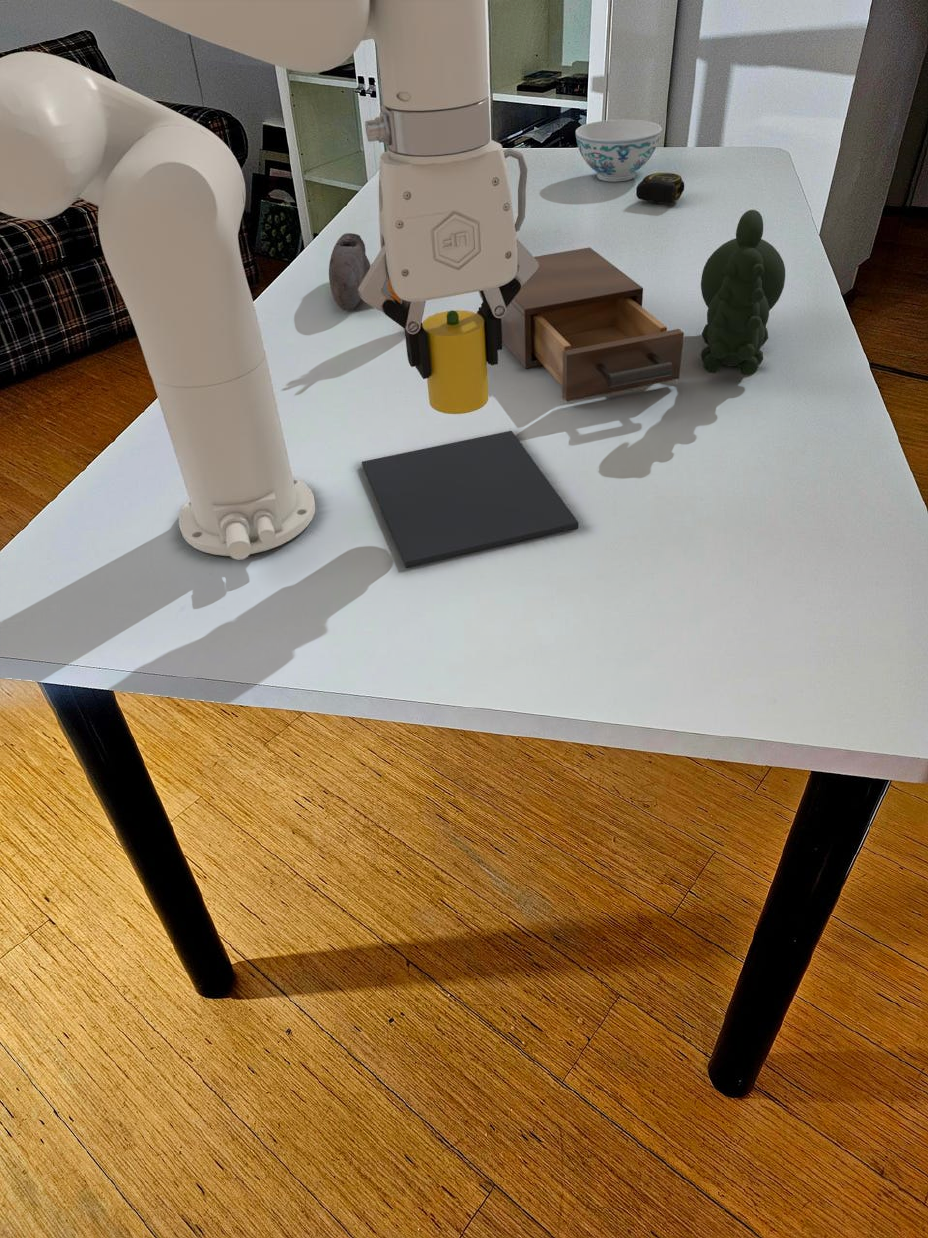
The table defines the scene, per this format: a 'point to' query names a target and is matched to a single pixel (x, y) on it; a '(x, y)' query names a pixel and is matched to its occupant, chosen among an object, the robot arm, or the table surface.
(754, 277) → the toy figurine
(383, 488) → the mat
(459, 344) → the pepper
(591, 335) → the drawer
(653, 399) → the table surface
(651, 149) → the chinaware
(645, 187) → the tape measure
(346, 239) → the perforated stone tool
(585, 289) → the cabinet
